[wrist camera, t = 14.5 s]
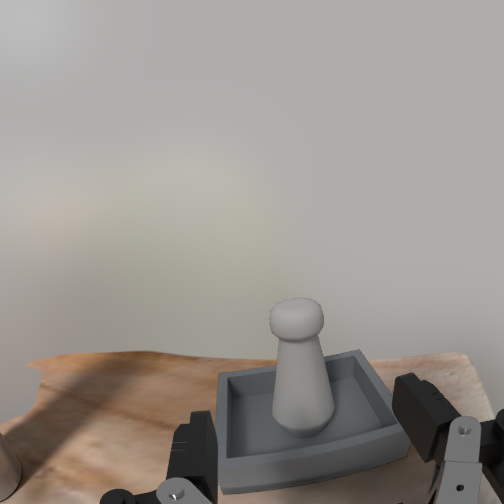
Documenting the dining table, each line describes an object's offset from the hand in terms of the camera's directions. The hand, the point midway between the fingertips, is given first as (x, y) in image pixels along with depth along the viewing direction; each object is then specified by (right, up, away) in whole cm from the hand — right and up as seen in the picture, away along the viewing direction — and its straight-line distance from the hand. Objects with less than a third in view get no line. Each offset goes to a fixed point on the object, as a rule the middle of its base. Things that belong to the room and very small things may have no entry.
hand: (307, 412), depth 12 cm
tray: (+3, -11, +16) cm, 20 cm away
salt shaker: (+3, -10, +16) cm, 19 cm away
